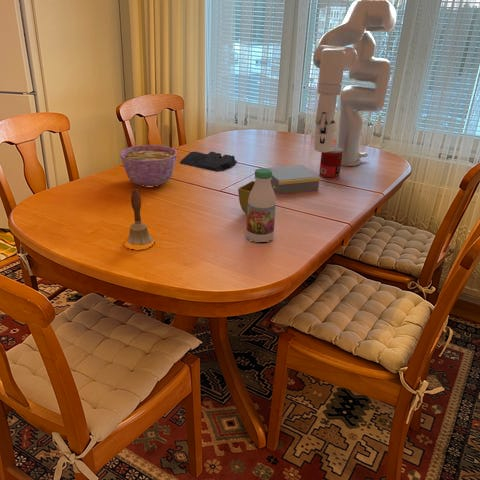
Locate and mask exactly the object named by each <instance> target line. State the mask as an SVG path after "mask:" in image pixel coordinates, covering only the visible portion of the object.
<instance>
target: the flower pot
mask: <svg viewBox="0 0 480 480" xmlns="http://www.w3.org/2000/svg"><path fill="white" fill-rule="evenodd" d="M254 184H255V181H254V180H251V181H249V182H248V183H246V184H243V185H241V186H240V187H238V188H237V194H238V201H239V205H240V208H241V210H242V211H243V213H244V214H245V215H247V209H248V198H249V194H250V192H251V190H252V188H253V186H254ZM271 186H272V185H271ZM272 189H273V191H274V193H276V192H275V186H272Z"/></svg>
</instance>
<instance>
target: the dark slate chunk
mask: <svg viewBox="0 0 480 480" xmlns="http://www.w3.org/2000/svg"><path fill="white" fill-rule="evenodd" d="M237 163H238V160H236V159H235V155H230V154H223V155H222V153H220V152H215V151H209V153H204V152H199V151H191V152H189V153H188V154H187V155H186V156H185V157H183V158H182V159H181V160H180V162H179V164H181V165H185V166H190V167H194V168H198V169H203V170H209V171H213V172H218V173H219V172H225V171H226V170H229V169H232V168H233V167H235V166H236V165H237Z"/></svg>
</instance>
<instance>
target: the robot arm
mask: <svg viewBox="0 0 480 480" xmlns="http://www.w3.org/2000/svg"><path fill="white" fill-rule="evenodd" d="M396 21H397V12H396V8H395V7H394V5H393V4H392V3H391V2H390V1H388V0H355V1H353V2H352V4H351V5H350V7H349V9H348V11H347V13H346V15H345V17H344V19H343V21H342V23H341V24H340V25H338V26H335V27H334V28H332V29H330V30H328V31H327V32H326V33H324V34H323V35H322V36H321V38H320V39H319V40H318V43H317V45H316V47H315V50H314V52H313V58H312V59H313V60H312V62H313V64H314V67H316V68H318V69H319V72H318V73H319V75H318V84H317V85H318V86H317V93H316V94H319V95H318V96H319V97H318V102H317V109H316V116H315V122H314V123H315V126H316V125H317V124H319V122H320V123H321V126H320V129H319V134H326V135H327V130H328V128H327V130H326V127H325V124H327V125H328V126H329V125H330V124H331V123H332V121H333V120H334V118H335V113H336V104H337V96H339V98H340V99H339V100H340V101H339V102H340V113H339V121H338V122H339V123H338V129H337V130H338V132H337V136H336V137H337V138H336V139H337V140H336V145H335V146H337V147H340V148H342V149H343V154H342V161H341V167H342V166H343V167H354V166H356V167H357V166H359V165H360V164H361V159H362V158H367V157H368V152H362V151H359V149H360V143H361V135H362V130H363V124H364V123H363V122H364V121H363V117H362V116H361V113H360V112H368V113H374V114H375V113H379V112H381V111H382V110H383V107H384V104H385V101H386V96H387V91H388V85H389V82H390V75H391V70H392V69H391V63H390V60H388V59H387V58H383V57H382V58H381V57H380V58H379V57H374V56H375V51H376V41H375V39H374V37H373V35H372V33H371V32H373V33H374V32H376V33H379V32H380V33H388V32H391V31H392V30H393V29H394V27H395V25H396ZM350 45H353V47H351V46H350ZM344 72H348V79H349V80H350V81H352V82H355V83H361V84H373V85H375V86H374V87H373V86H366V85H353V84H351V85H346V86H345V87H343V89H342V84H343V83H342V82H343V78H344ZM325 132H326V133H325ZM324 142H325V138H324V139H323V142H322V140H321V136H320V143H321V144H324Z"/></svg>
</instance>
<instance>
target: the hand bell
mask: <svg viewBox="0 0 480 480" xmlns="http://www.w3.org/2000/svg"><path fill="white" fill-rule="evenodd" d="M130 204H131V208H132V210H133V213H134V214H133V215H134V216H133V217H134V219H133V220H134V222H133V223H132V224H131V225H130V227H129V234H128V237H127V238H126V239H127V242H128V243H130V244H132V245H140V246H141V245H146V244H149V243H151V242H152V241H153V239H154V238H153V237H152V236H151V235H150V233H149V231H148V226H147V224H146V223H144V222H142V217H141V208H142V198H141V194H140V192H139V190H138V188H132V189H131V195H130Z"/></svg>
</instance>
